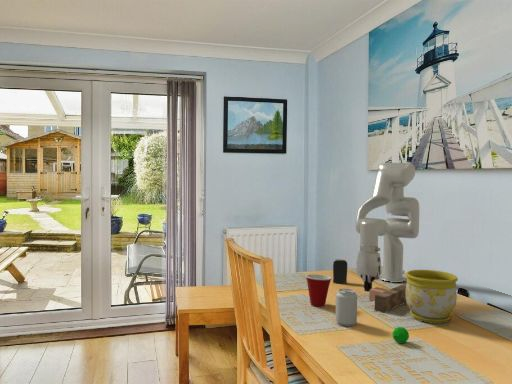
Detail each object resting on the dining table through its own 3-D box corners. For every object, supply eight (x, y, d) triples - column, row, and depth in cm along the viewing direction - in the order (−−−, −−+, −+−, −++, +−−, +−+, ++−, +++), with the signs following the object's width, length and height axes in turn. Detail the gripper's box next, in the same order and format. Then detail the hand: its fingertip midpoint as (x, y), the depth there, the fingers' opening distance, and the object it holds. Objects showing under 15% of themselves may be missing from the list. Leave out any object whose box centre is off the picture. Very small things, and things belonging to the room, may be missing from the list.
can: (344, 328, 152) (345, 294, 152) (331, 321, 159) (331, 288, 159) (361, 324, 156) (361, 291, 155) (347, 318, 163) (348, 286, 162)
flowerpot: (396, 317, 164) (397, 274, 164) (416, 307, 177) (417, 267, 177) (445, 330, 152) (447, 283, 151) (462, 318, 165) (464, 274, 165)
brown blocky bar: (405, 296, 193) (406, 283, 193) (414, 298, 190) (415, 284, 190) (374, 310, 173) (375, 295, 172) (384, 312, 170) (384, 297, 170)
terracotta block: (376, 298, 190) (376, 287, 190) (393, 302, 185) (393, 290, 184) (369, 301, 186) (369, 289, 186) (386, 305, 180) (387, 293, 180)
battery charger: (346, 281, 218) (347, 259, 217) (347, 283, 214) (347, 260, 214) (332, 281, 219) (332, 258, 218) (332, 283, 215) (333, 259, 214)
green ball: (399, 346, 137) (400, 331, 137) (389, 340, 141) (389, 326, 141) (412, 344, 139) (412, 329, 139) (401, 338, 143) (401, 324, 143)
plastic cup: (335, 303, 181) (336, 274, 180) (324, 310, 172) (325, 280, 171) (311, 299, 187) (312, 271, 186) (300, 305, 178) (300, 276, 177)
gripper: (388, 250, 187) (387, 292, 188) (358, 245, 197) (357, 285, 199) (380, 252, 182) (379, 296, 183) (349, 247, 192) (348, 289, 193)
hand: (367, 290), depth 191 cm, fingers closed
